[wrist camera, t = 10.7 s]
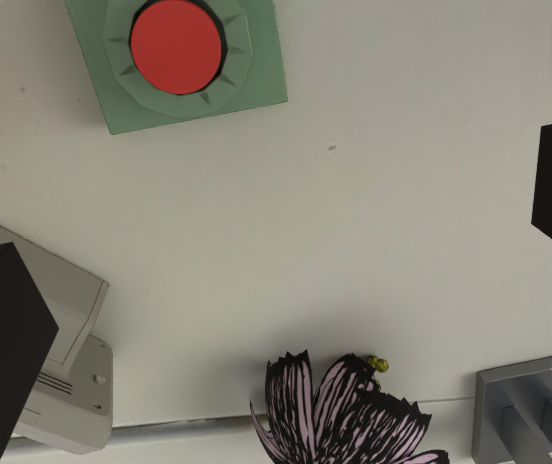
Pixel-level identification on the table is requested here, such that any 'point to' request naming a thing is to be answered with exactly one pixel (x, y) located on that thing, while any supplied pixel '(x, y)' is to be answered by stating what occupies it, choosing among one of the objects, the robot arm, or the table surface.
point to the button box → (167, 106)
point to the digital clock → (68, 358)
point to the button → (176, 46)
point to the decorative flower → (339, 416)
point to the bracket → (514, 414)
